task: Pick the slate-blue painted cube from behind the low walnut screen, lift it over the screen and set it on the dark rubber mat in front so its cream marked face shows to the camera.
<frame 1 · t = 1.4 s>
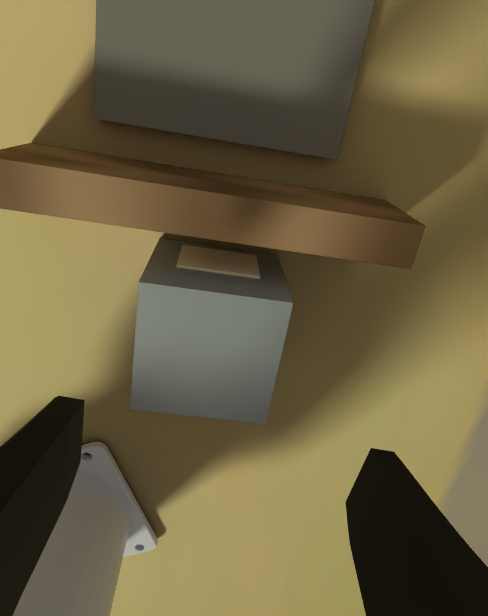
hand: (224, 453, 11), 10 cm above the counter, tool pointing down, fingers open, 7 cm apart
slate cube: (211, 300, 20), on the counter
walnut screen: (212, 192, 18), on the counter
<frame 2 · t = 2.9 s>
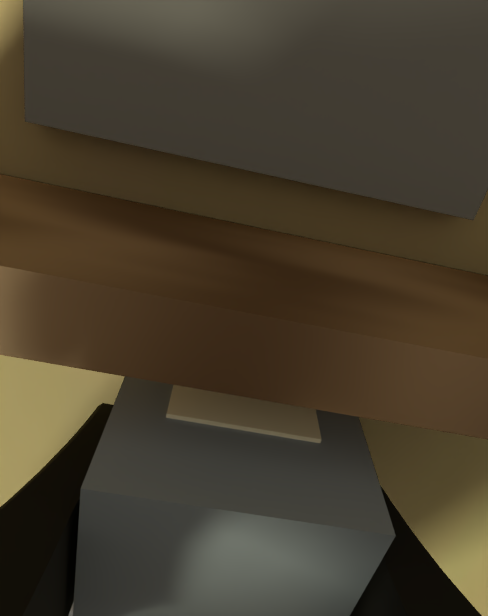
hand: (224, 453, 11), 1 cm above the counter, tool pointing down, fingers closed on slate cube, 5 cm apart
slate cube: (226, 415, 13), on the counter, touching gripper
walnut screen: (240, 256, 10), on the counter
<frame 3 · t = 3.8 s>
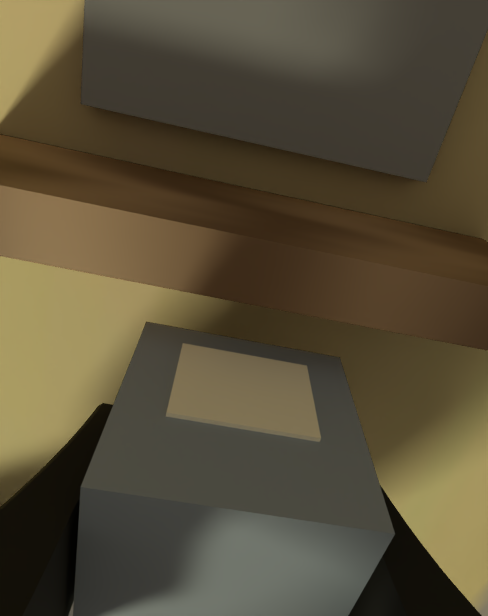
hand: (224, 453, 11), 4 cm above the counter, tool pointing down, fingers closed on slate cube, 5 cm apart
slate cube: (226, 414, 13), point 3 cm above the counter, touching gripper
walnut screen: (244, 214, 13), on the counter
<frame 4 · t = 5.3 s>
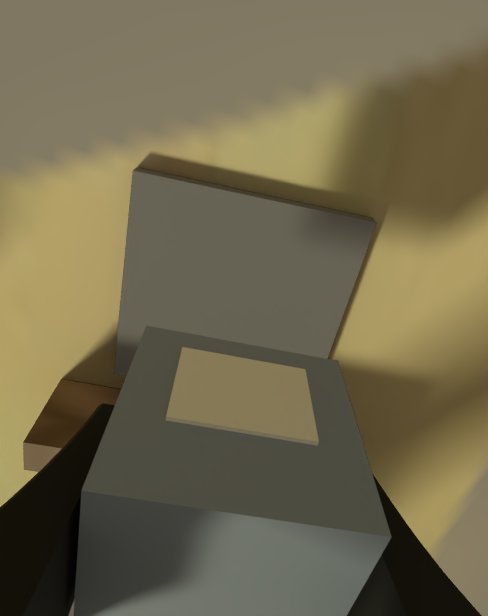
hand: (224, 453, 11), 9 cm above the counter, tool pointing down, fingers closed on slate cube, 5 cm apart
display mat: (233, 298, 19), on the counter
slate cube: (225, 417, 13), point 7 cm above the counter, touching gripper
walnut screen: (207, 416, 22), on the counter
when the fingers open (4 cm above the counter, at t = 6.6 s): slate cube drops 2 cm, resting on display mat.
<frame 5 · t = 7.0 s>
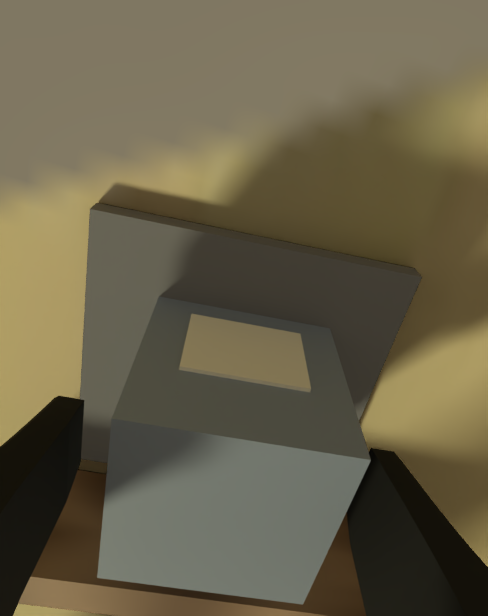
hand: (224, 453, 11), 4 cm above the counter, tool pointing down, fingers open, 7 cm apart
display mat: (229, 367, 15), on the counter
slate cube: (229, 381, 14), point 1 cm above the counter, touching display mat
walnut screen: (197, 501, 18), on the counter
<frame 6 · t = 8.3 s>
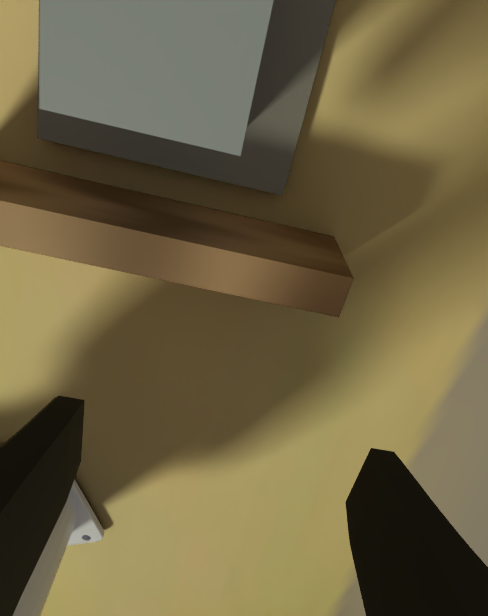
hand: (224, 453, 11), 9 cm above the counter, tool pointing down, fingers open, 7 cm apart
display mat: (185, 27, 15), on the counter
slate cube: (184, 30, 14), point 1 cm above the counter, touching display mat
walnut screen: (159, 215, 18), on the counter
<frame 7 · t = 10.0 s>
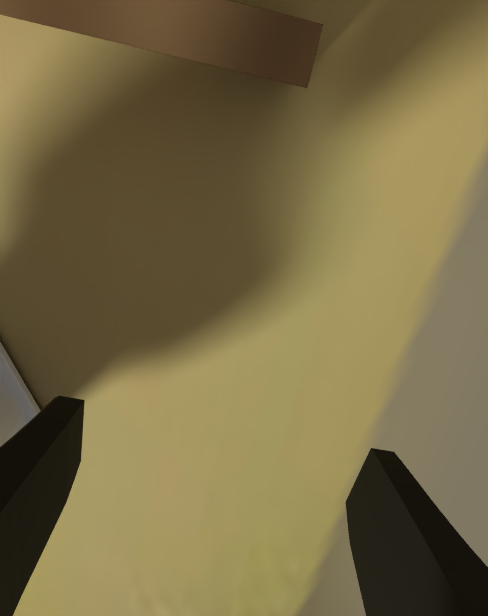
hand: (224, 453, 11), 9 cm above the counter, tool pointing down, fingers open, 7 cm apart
walnut screen: (93, 8, 15), on the counter
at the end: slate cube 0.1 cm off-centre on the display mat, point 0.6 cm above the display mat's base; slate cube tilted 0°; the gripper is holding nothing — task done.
